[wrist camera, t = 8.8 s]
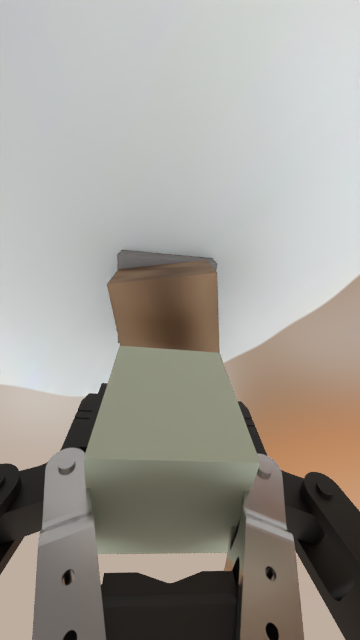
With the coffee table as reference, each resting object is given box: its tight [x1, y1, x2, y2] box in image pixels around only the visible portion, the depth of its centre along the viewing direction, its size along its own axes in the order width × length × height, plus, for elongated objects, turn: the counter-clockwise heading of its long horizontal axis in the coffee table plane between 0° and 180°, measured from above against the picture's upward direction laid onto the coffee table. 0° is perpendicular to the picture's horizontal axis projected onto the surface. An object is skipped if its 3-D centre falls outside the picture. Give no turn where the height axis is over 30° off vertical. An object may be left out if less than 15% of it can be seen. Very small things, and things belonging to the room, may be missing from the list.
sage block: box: [84, 346, 260, 554], centre depth 11 cm, size 5×5×6 cm
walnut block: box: [107, 260, 219, 353], centre depth 22 cm, size 8×8×5 cm
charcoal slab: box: [118, 250, 217, 343], centre depth 26 cm, size 9×9×3 cm
